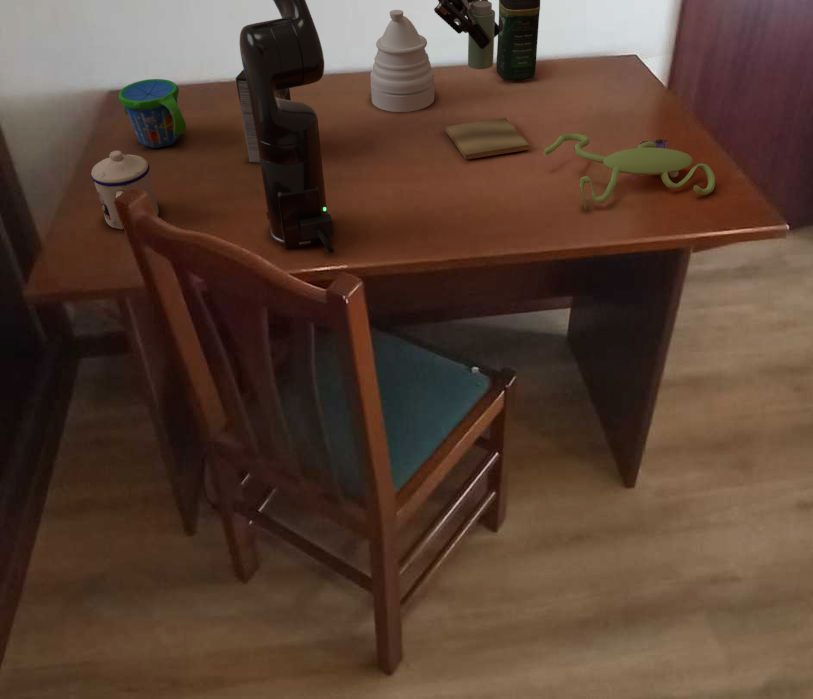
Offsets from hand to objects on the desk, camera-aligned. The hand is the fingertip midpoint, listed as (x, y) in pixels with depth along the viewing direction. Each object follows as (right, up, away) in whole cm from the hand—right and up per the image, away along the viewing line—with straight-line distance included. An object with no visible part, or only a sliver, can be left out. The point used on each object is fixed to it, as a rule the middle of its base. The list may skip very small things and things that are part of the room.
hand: (491, 39), depth 148 cm
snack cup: (-62, -13, +18) cm, 66 cm away
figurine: (+23, -24, 0) cm, 33 cm away
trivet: (0, -14, +13) cm, 19 cm away
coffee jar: (+9, +6, +37) cm, 38 cm away
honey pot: (-15, -2, +29) cm, 33 cm away
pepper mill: (-2, -3, +4) cm, 5 cm away
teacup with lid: (-60, -32, -5) cm, 68 cm away
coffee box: (-39, -17, +12) cm, 44 cm away
